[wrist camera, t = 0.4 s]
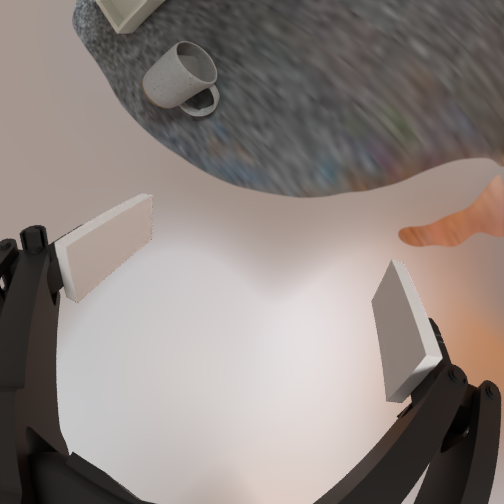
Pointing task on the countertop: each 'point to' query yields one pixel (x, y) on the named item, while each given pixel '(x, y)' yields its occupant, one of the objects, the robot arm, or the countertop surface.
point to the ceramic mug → (181, 78)
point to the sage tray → (127, 13)
